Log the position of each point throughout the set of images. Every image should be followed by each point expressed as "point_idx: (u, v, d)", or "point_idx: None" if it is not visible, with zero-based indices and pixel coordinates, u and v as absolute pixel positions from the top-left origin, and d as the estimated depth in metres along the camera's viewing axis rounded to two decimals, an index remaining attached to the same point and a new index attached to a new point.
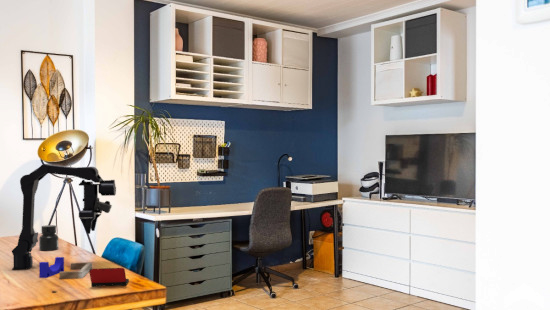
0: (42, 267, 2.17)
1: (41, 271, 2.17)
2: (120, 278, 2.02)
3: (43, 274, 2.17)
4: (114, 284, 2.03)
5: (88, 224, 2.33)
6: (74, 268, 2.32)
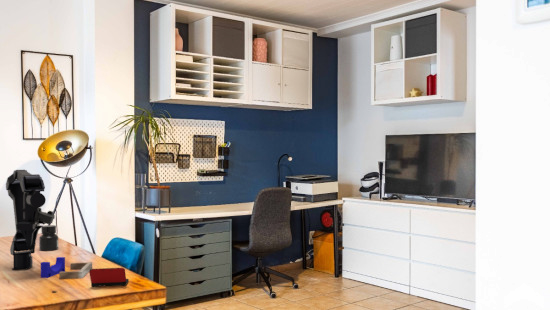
0: (43, 267, 2.17)
1: (42, 271, 2.17)
2: (120, 278, 2.02)
3: (44, 274, 2.17)
4: (114, 284, 2.03)
5: (29, 235, 2.19)
6: (74, 268, 2.32)
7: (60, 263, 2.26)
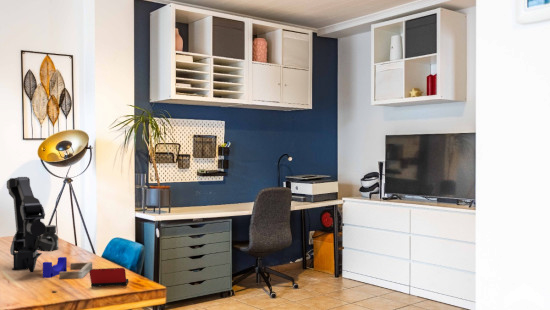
0: (45, 267, 2.17)
1: (44, 271, 2.17)
2: (120, 278, 2.02)
3: (46, 274, 2.17)
4: (114, 284, 2.02)
5: (31, 262, 2.21)
6: (74, 268, 2.32)
7: (62, 263, 2.26)
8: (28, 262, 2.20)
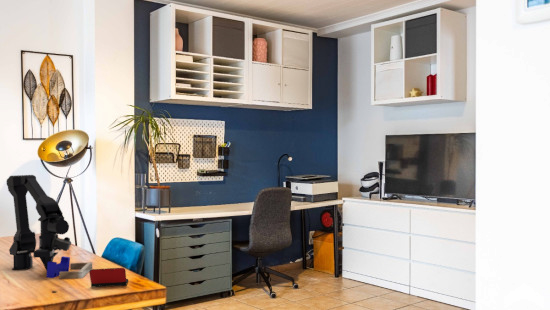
0: (50, 266, 2.17)
1: (49, 270, 2.17)
2: (120, 278, 2.01)
3: (50, 274, 2.17)
4: (114, 284, 2.02)
5: None
6: (74, 268, 2.32)
7: (65, 263, 2.27)
8: (45, 261, 2.21)
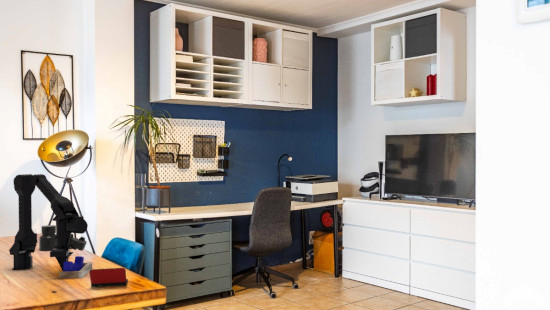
0: (66, 266, 2.17)
1: (65, 270, 2.17)
2: (120, 278, 2.01)
3: None
4: (114, 284, 2.02)
5: (63, 261, 2.22)
6: None
7: (79, 262, 2.27)
8: (60, 261, 2.22)
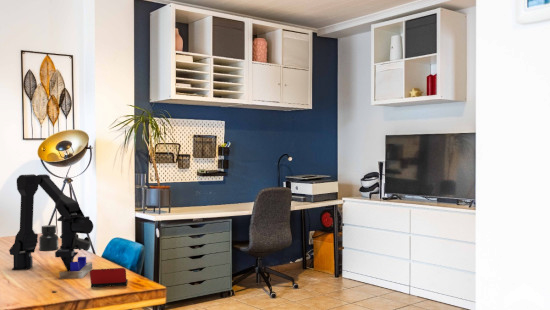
0: (73, 266, 2.17)
1: None
2: (120, 278, 2.01)
3: None
4: (114, 284, 2.02)
5: (68, 261, 2.22)
6: None
7: (83, 262, 2.27)
8: (66, 261, 2.22)
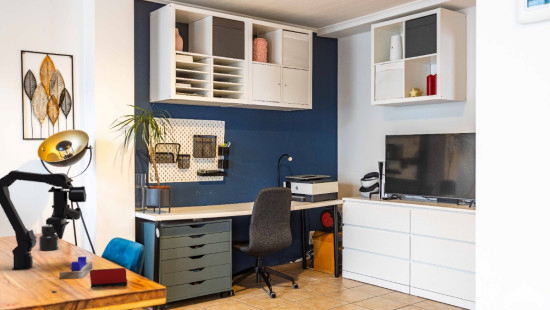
0: (75, 266, 2.17)
1: None
2: (121, 278, 2.01)
3: None
4: (114, 285, 2.02)
5: (59, 230, 2.36)
6: None
7: (83, 262, 2.27)
8: (57, 229, 2.36)
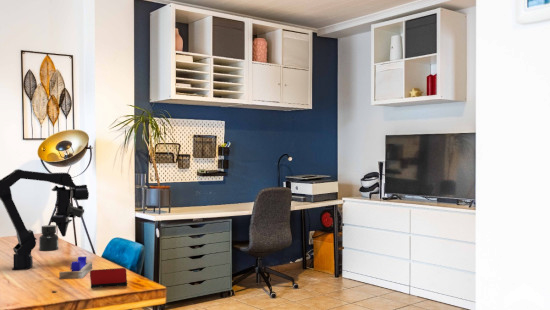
0: (75, 266, 2.18)
1: None
2: (121, 278, 2.01)
3: None
4: (114, 285, 2.02)
5: (63, 227, 2.43)
6: None
7: (83, 262, 2.27)
8: (60, 227, 2.43)
